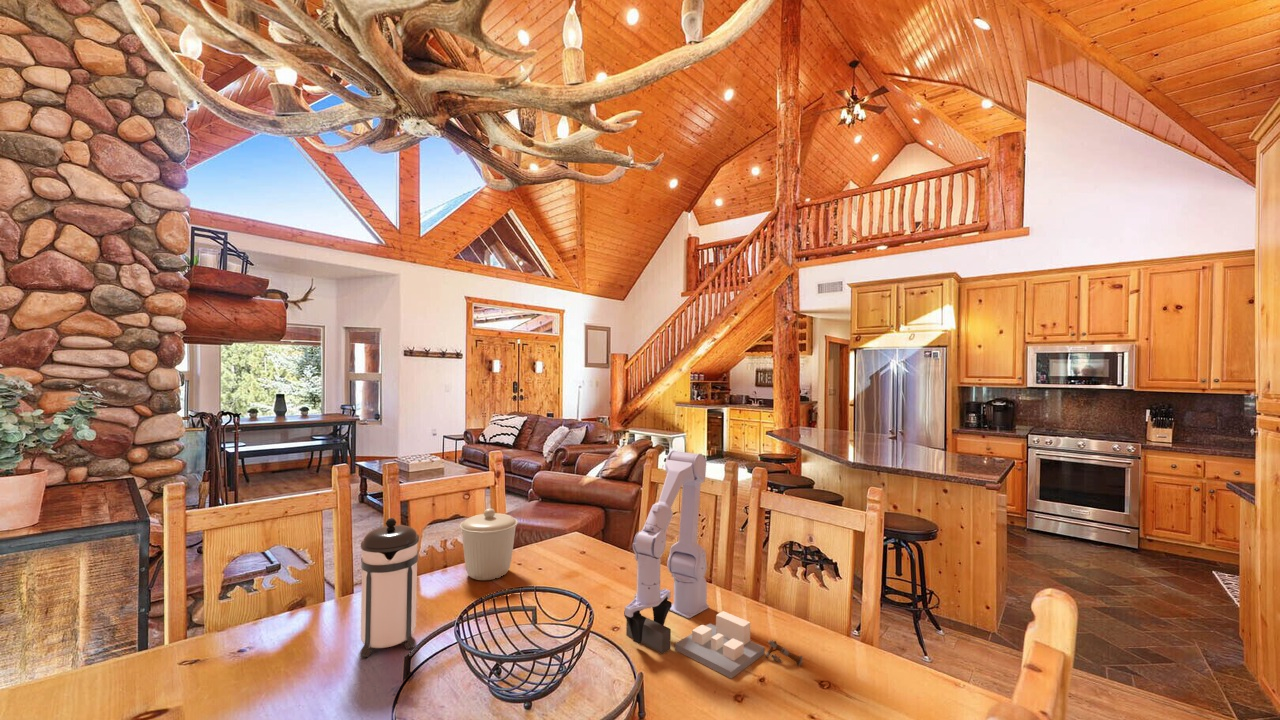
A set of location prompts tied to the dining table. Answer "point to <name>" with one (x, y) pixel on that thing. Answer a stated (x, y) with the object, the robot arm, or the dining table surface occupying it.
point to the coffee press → (388, 587)
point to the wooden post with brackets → (784, 651)
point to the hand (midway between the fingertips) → (647, 636)
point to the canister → (488, 544)
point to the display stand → (722, 645)
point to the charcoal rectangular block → (654, 635)
